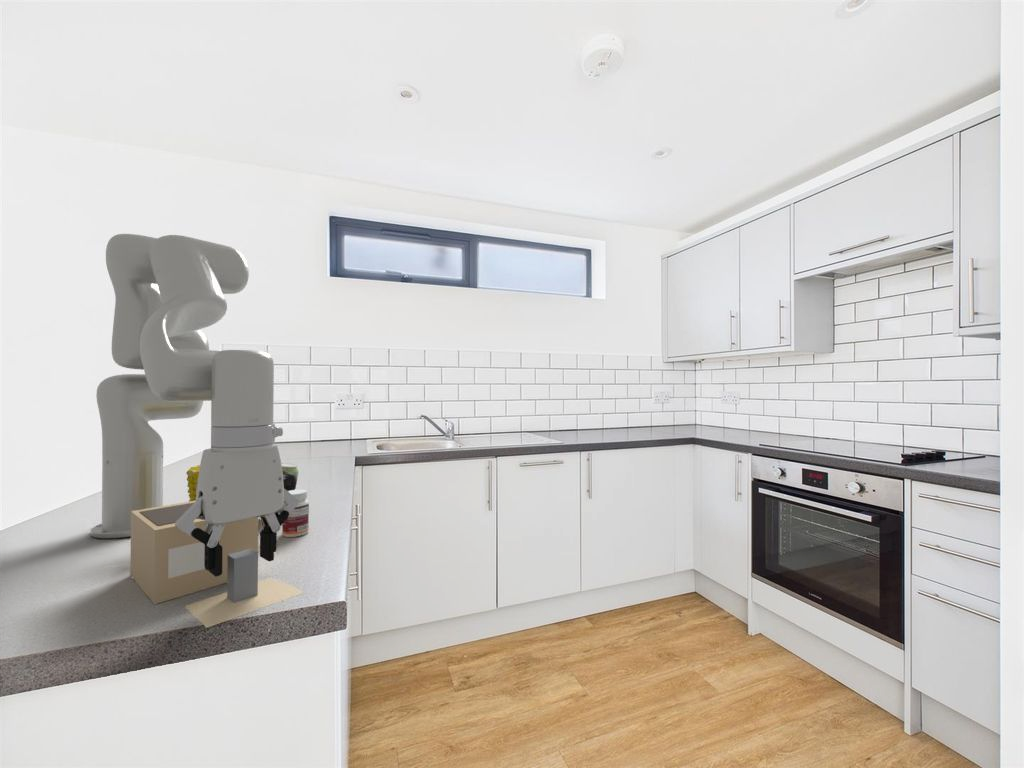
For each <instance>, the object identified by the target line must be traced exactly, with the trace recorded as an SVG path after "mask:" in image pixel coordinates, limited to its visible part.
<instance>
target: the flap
mask: <svg viewBox="0 0 1024 768" xmlns="http://www.w3.org/2000/svg"><path fill="white" fill-rule="evenodd" d="M258 574H259V551H258V552H256V551H254V550H252V549H247V550H243V551H240V552H236V553H232V554H228V555H227V583H226V591H225V592H223V593H219V594H217V595H214V596H211V597H208V598H204V599H202V600H199V601H196V602H192V603H190V604H187V605H184V607H185V608H186V609H187V610H188V611H189V612H190V614H192V615H193V616H194V617H195V618H196V619H197V620H198V622H199V623H201V624H202V625H203V626H204V627H205V628H206V629H207V628H210V627H214V626H215V625H218V624H221V623H224V622H227V621H229V620H232V619H235V618H237V617H238V618H239V617H240V616H243V615H246V614H249V613H252V612H255V611H256V610H260V609H263V608H266V607H269V606H271V605H273V604H276V603H279V602H282V601H284V600H288V599H291V598H293V597H296V596H299V595H301V594H304V591H302V590H300V588H299V589H298V588H297V587H295V586H294V585H292V584H290V583H289V582H287V581H285V582H286V583H287V584H286V583H284V582H283V583H282V582H280V581H279V582H280V583H279V582H277V581H278V580H277V581H276V580H274V581H273V579H272V577H273V576H271V578H270V577H267V578H264V579H261V580H259V579H258V578H259V575H258ZM269 578H270V579H269ZM265 579H266V580H265ZM268 579H269V580H268ZM271 579H272V580H271ZM264 580H265V581H264ZM267 580H268V581H267ZM275 581H276V582H275ZM288 583H289V584H290V585H289V584H288ZM284 584H285V585H284Z"/></svg>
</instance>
